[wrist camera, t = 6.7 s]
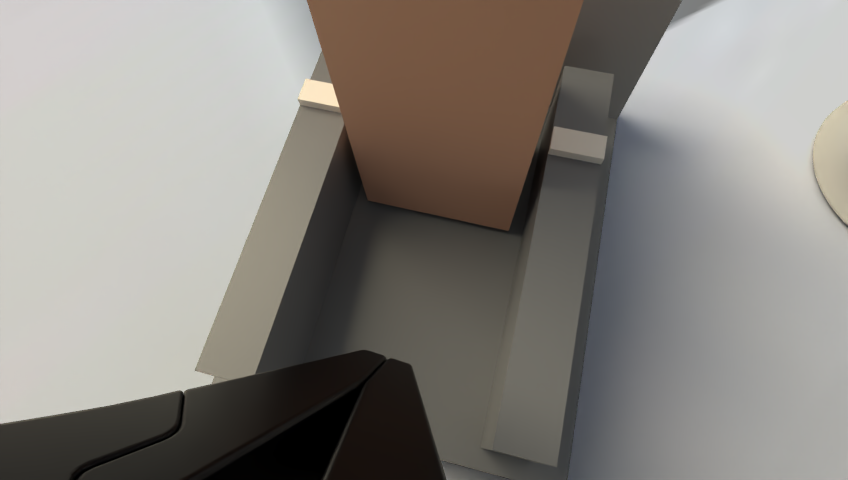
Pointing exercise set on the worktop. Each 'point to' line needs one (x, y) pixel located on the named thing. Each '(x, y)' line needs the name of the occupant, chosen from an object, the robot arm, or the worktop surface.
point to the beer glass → (833, 160)
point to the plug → (445, 96)
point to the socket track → (447, 265)
